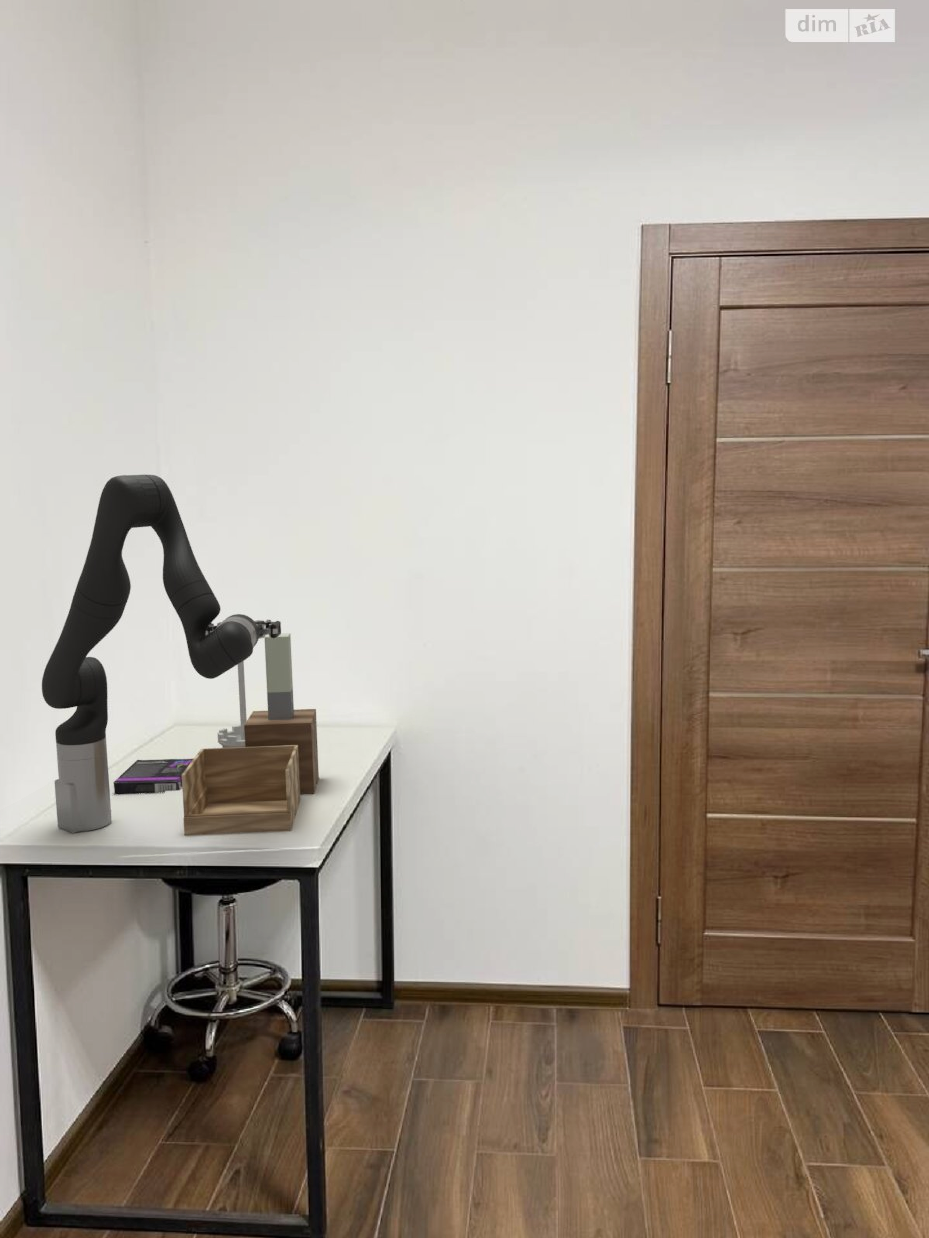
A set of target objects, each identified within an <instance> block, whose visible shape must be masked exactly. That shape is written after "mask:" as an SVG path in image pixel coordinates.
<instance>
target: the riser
mask: <svg viewBox="0 0 929 1238" xmlns="http://www.w3.org/2000/svg"><path fill="white" fill-rule="evenodd" d="M317 725H318V724H317V709H316V708H306V709H305V708H304V709H294V715H293V718H292V719H282V720H268V710H253V711H252V712H251V714H250V715H249V717H248V719H247V722H246V723H245V725H244V731H245V747H259V746H284V745H298V755H299V778H300V796H303V795H314V794H315V792H316V788H317V785H318V782H319V779H320V778H319V777H320V776H319V774H320V773H319V753H318V730H317V729H318V728H317V727H318V726H317Z"/></svg>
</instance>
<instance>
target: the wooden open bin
mask: <svg viewBox="0 0 929 1238" xmlns="http://www.w3.org/2000/svg"><path fill="white" fill-rule="evenodd" d="M192 759H193V760H192V762H191V763H190V764H189V766H188V767H187V769H186V770H185V771H184V773H183V774H182V788H181V789H182V803H183V805H182V807H183V819H182V820H183V831H184V833H183V835H184V836H196V835H197V836H198V835H199V836H200V835H219V834H242V833H246V834H247V833H263V832H264V833H266V832H289V831H292V829H293V825H294V822H295V819H296V818H295V817H296V815H297V811H298V808H299V804H300V801H301V795H300V778H299V755H298V745H284V746H259V747H234V748H222V747H217V748H216V747H213V748H210V747H209V748H200V750H199V751H198V752H197V754H196V755H195V756H194V758H192Z"/></svg>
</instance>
